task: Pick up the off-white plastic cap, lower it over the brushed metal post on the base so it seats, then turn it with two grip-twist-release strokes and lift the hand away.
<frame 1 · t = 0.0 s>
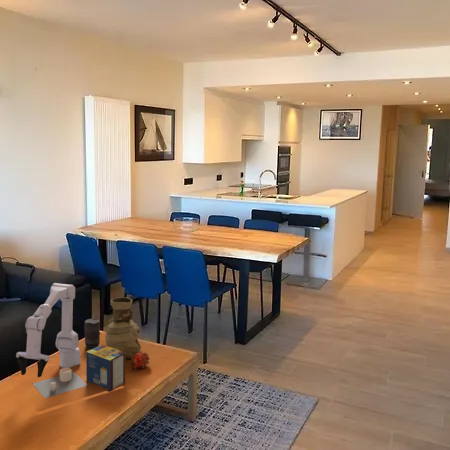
hand: (31, 375, 214), 11 cm above the table, tool pointing down, fingers open, 7 cm apart
base: (60, 386, 226), on the table
dragon fruit: (139, 367, 249), on the table
camera lens: (92, 347, 270), on the table
protein box: (105, 383, 232), on the table
ceramic vessel: (123, 353, 264), on the table
cap: (65, 379, 231), point 1 cm above the table, touching base
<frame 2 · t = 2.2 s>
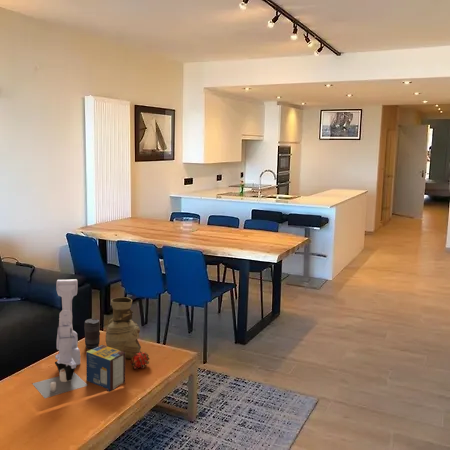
hand: (65, 377, 231), 2 cm above the table, tool pointing down, fingers closed on cap, 5 cm apart
cap: (65, 379, 231), point 1 cm above the table, touching base, gripper
everything else where it was.
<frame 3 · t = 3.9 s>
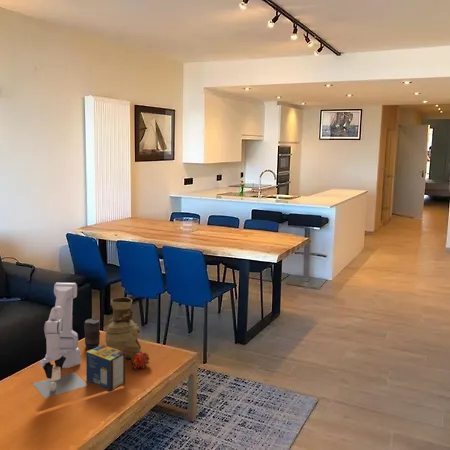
hand: (53, 375, 220), 8 cm above the table, tool pointing down, fingers closed on cap, 5 cm apart
cap: (54, 377, 220), point 7 cm above the table, touching gripper
everything else where it was.
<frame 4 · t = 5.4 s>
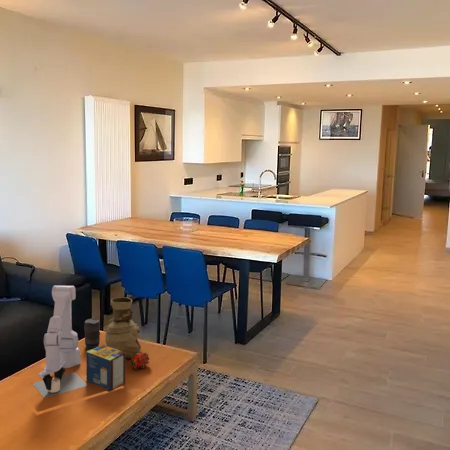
hand: (53, 386, 220), 3 cm above the table, tool pointing down, fingers closed on cap, 5 cm apart
cap: (54, 389, 220), point 2 cm above the table, touching gripper
everything else where it was.
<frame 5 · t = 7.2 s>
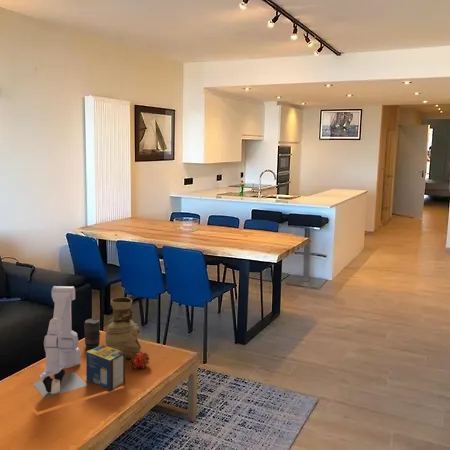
hand: (53, 388, 220), 2 cm above the table, tool pointing down, fingers closed on cap, 5 cm apart
cap: (54, 390, 220), point 1 cm above the table, touching base, gripper
everything else where it was.
when the fingers open (2 cm above the table, at t = 8.5 s): cap stays where it is, point 1 cm above the table.
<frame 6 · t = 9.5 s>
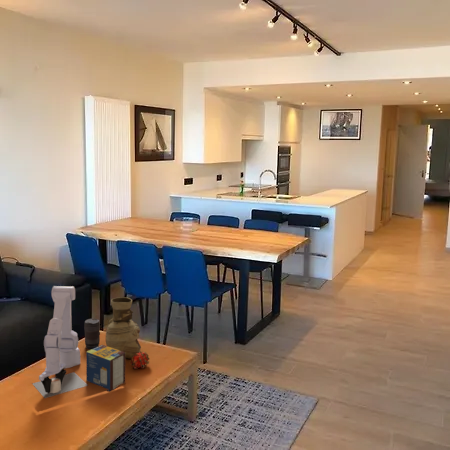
hand: (53, 388, 220), 2 cm above the table, tool pointing down, fingers open, 6 cm apart
cap: (54, 390, 221), point 1 cm above the table, touching gripper
everything else where it was.
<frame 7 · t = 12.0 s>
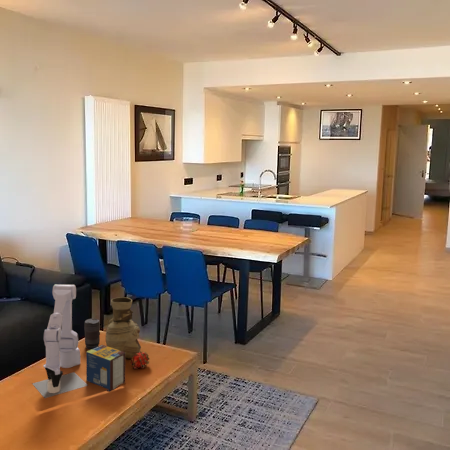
hand: (53, 383, 220), 5 cm above the table, tool pointing down, fingers open, 7 cm apart
cap: (53, 390, 221), point 1 cm above the table, touching base
everything else where it was.
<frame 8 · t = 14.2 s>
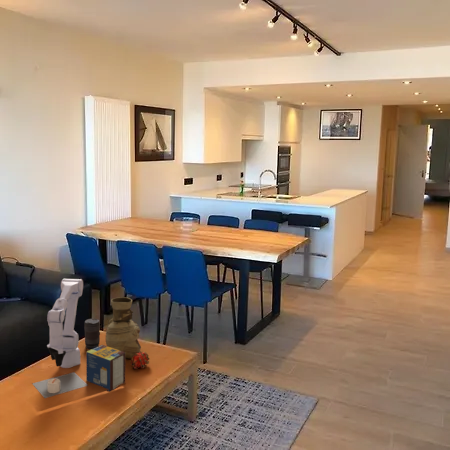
hand: (56, 362, 229), 9 cm above the table, tool pointing down, fingers open, 7 cm apart
nothing on the table moved.
at the end: cap 0.3 cm from the target spot on the base, point 1.0 cm above the base's base; cap tilted 0°; the gripper is holding nothing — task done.
